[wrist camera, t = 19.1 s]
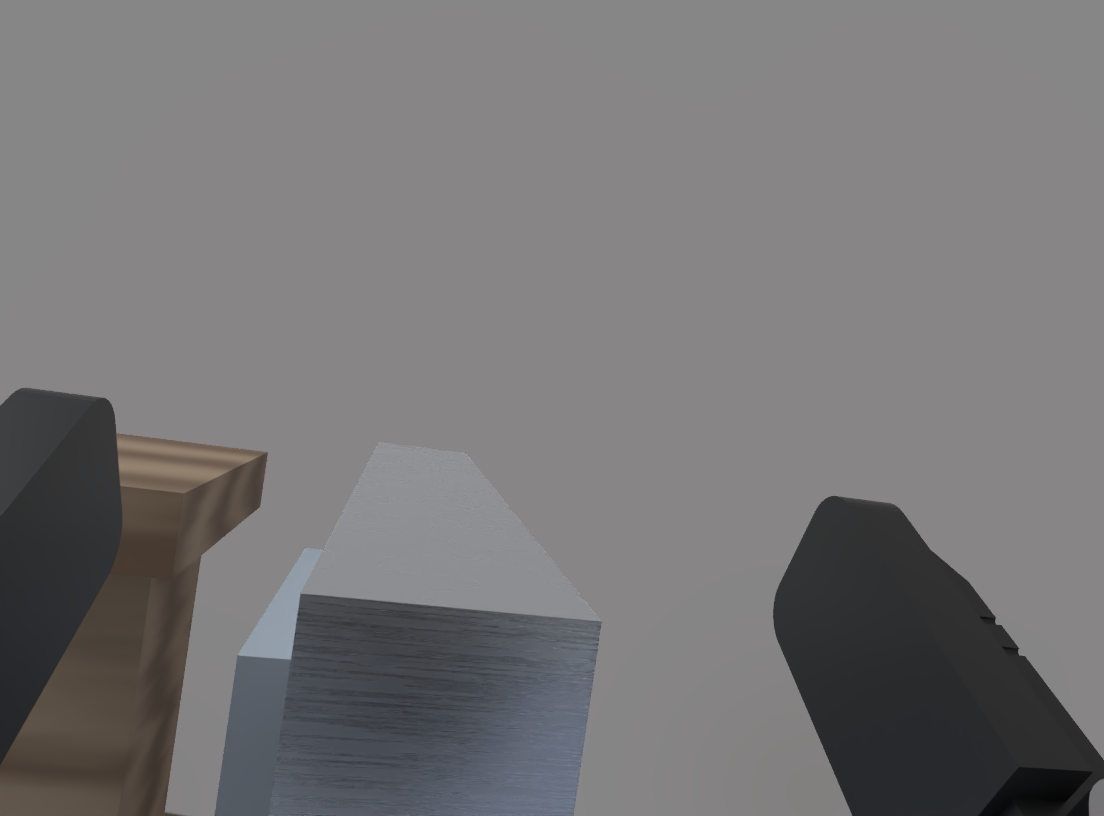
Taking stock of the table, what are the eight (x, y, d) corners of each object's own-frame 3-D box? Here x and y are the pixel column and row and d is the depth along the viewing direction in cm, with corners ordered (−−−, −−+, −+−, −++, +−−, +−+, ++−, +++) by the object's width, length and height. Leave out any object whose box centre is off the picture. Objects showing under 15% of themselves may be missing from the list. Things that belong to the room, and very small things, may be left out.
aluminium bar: (560, 908, 11) (601, 621, 11) (255, 902, 10) (300, 593, 10) (453, 538, 36) (465, 453, 36) (366, 528, 36) (378, 441, 35)
